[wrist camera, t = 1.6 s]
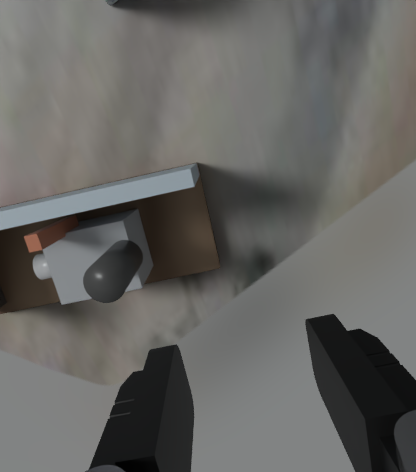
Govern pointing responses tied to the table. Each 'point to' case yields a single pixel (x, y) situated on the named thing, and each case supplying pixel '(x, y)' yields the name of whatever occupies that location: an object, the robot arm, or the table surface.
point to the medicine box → (111, 1)
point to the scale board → (99, 196)
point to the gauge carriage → (92, 256)
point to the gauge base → (157, 235)
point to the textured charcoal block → (2, 298)
